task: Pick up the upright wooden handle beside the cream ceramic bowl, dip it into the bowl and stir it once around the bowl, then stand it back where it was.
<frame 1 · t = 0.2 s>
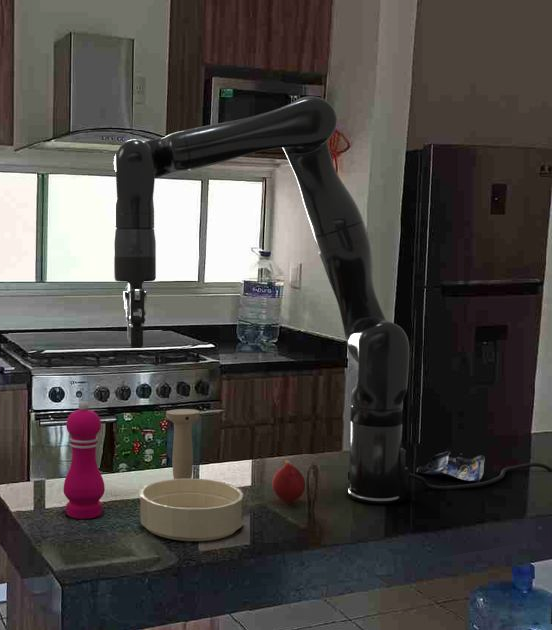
hand: (135, 344, 149), 29 cm above the counter, tool pointing down, fingers open, 8 cm apart
pepper mill: (84, 514, 145), on the counter
handle: (182, 489, 160), on the counter
onion: (288, 505, 150), on the counter
snack package: (448, 477, 168), on the counter
bowl: (191, 524, 139), on the counter
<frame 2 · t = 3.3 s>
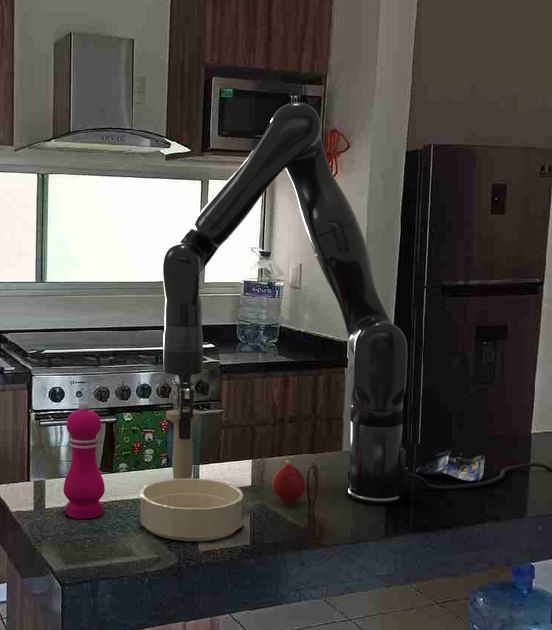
hand: (182, 435, 159), 10 cm above the counter, tool pointing down, fingers closed on handle, 5 cm apart
handle: (182, 489, 160), on the counter, touching gripper
everything else where it was.
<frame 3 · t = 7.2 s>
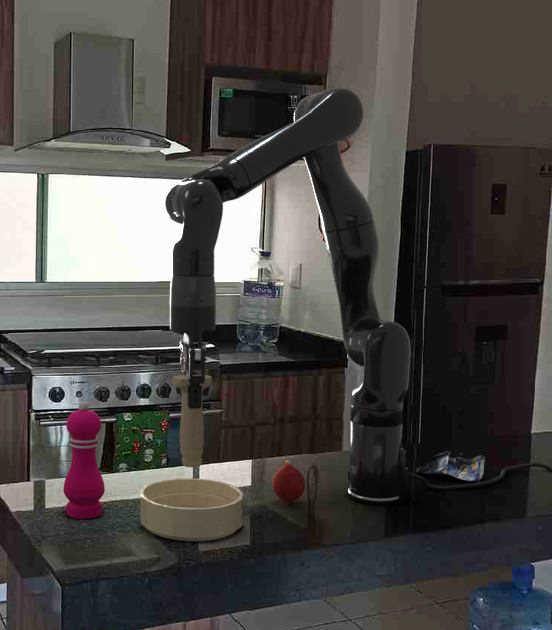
hand: (192, 404, 138), 21 cm above the counter, tool pointing down, fingers closed on handle, 5 cm apart
handle: (191, 466, 138), point 10 cm above the counter, touching gripper
everything else where it was.
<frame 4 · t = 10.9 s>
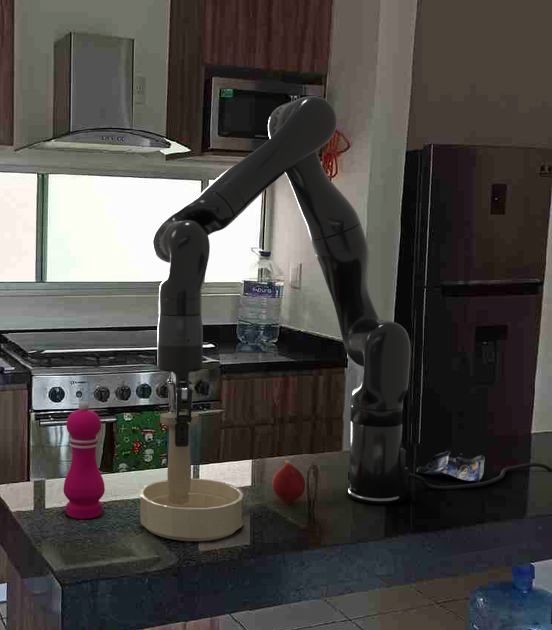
hand: (179, 441, 139), 14 cm above the counter, tool pointing down, fingers closed on handle, 5 cm apart
handle: (179, 503, 140), point 3 cm above the counter, touching gripper
everything else where it was.
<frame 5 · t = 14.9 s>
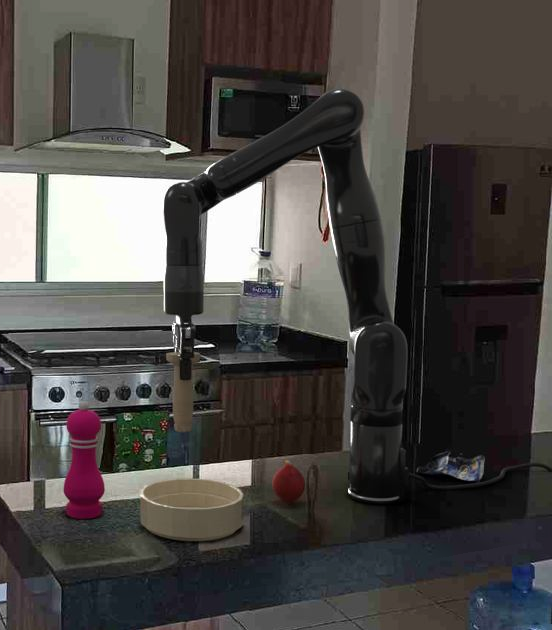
hand: (183, 377, 158), 22 cm above the counter, tool pointing down, fingers closed on handle, 5 cm apart
handle: (182, 431, 159), point 11 cm above the counter, touching gripper
everything else where it was.
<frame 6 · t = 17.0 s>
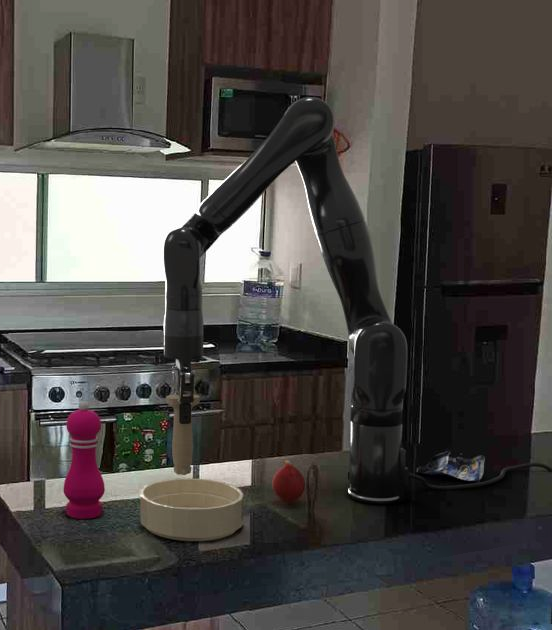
hand: (183, 420, 159), 13 cm above the counter, tool pointing down, fingers closed on handle, 5 cm apart
handle: (182, 474, 160), point 3 cm above the counter, touching gripper
everything else where it was.
when the fingers open (10 cm above the counter, at t = 18.4 s): handle stays where it is, on the counter.
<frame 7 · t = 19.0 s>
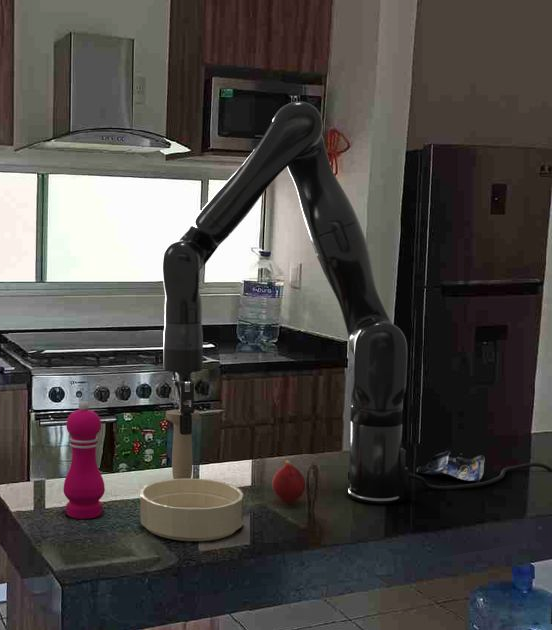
hand: (182, 429, 159), 12 cm above the counter, tool pointing down, fingers open, 8 cm apart
handle: (182, 489, 160), on the counter
everything else where it was.
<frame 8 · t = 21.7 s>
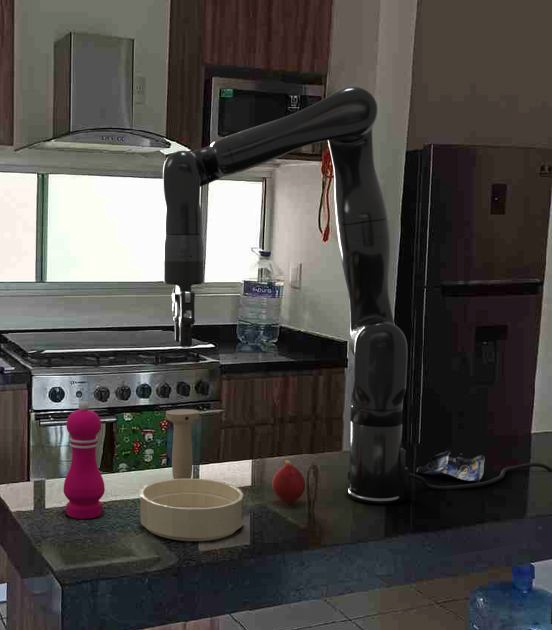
hand: (183, 344, 158), 28 cm above the counter, tool pointing down, fingers open, 8 cm apart
nothing on the counter moved.
at the end: handle inside the target area (0.1 cm from its centre), on the counter; handle tilted 0°; the gripper is holding nothing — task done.
